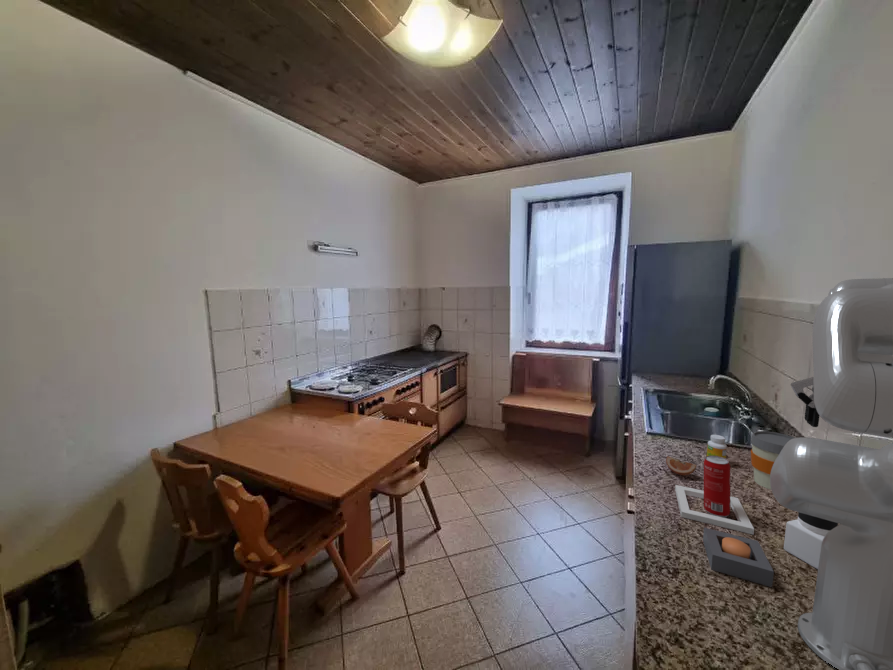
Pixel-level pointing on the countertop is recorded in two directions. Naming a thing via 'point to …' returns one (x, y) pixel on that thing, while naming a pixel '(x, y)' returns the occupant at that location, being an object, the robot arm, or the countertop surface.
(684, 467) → the fruit slice
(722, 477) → the beverage can
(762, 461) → the reusable coffee cup
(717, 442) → the supplement bottle
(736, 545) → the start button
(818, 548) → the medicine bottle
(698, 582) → the countertop surface
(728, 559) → the grey square holder
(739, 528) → the white picture frame
